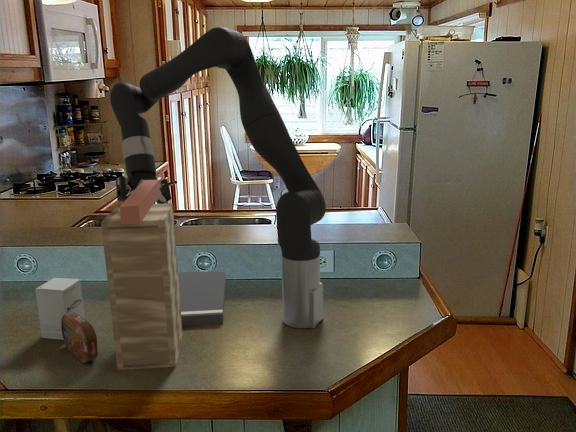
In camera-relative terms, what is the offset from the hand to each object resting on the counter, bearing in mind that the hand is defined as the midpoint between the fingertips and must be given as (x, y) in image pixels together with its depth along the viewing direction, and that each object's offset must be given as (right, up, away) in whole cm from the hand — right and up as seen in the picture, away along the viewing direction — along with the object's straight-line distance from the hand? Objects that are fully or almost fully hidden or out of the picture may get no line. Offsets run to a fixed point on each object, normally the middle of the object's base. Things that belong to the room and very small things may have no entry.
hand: (147, 217), depth 133 cm
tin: (-10, -30, -17) cm, 36 cm away
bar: (+4, +2, -21) cm, 21 cm away
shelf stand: (+5, -30, -16) cm, 34 cm away
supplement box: (-18, -28, -7) cm, 34 cm away
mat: (+9, -23, +10) cm, 26 cm away
